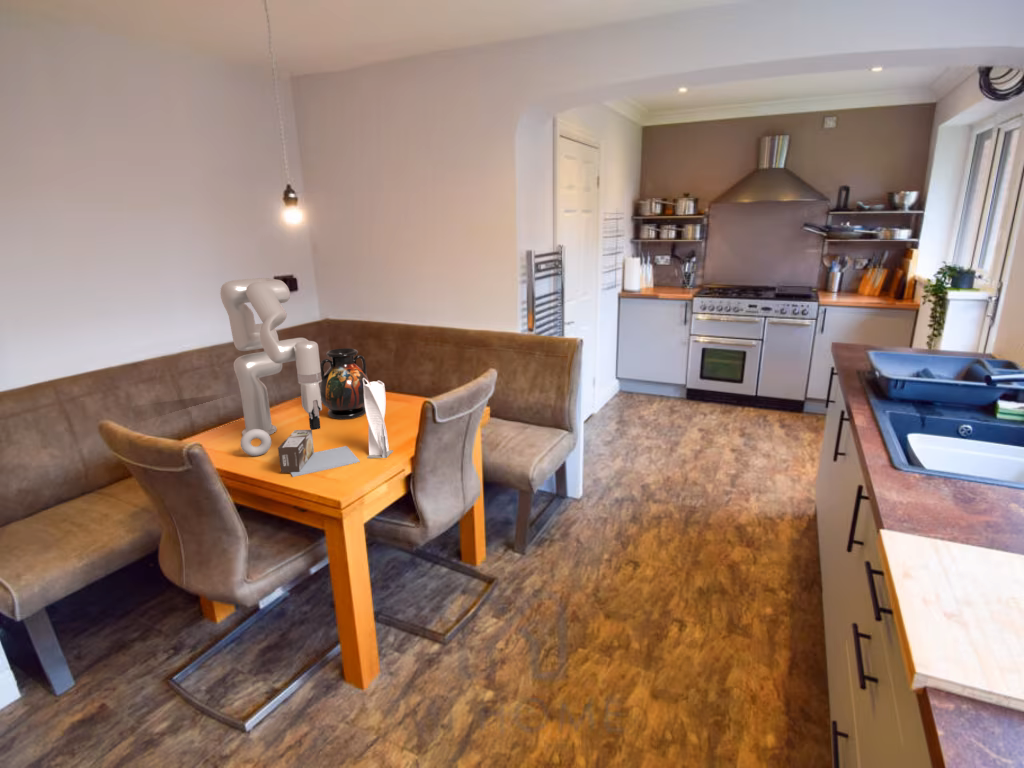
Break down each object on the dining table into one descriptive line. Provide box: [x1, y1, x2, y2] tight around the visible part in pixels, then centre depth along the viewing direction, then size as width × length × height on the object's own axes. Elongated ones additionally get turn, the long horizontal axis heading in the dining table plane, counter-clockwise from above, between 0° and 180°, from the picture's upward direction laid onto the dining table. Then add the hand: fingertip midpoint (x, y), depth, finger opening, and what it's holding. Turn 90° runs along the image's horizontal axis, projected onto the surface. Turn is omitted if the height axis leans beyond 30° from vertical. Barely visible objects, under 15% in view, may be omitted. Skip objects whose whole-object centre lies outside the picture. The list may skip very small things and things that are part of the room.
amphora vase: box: [319, 347, 371, 420], centre depth 238 cm, size 22×22×28 cm
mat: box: [289, 445, 360, 478], centre depth 192 cm, size 16×22×1 cm
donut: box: [240, 429, 272, 457], centre depth 197 cm, size 10×4×10 cm, turn 115°
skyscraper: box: [362, 378, 394, 459], centre depth 195 cm, size 8×8×28 cm
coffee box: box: [277, 429, 315, 473], centre depth 189 cm, size 9×6×16 cm
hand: (315, 428), depth 193 cm, fingers closed
